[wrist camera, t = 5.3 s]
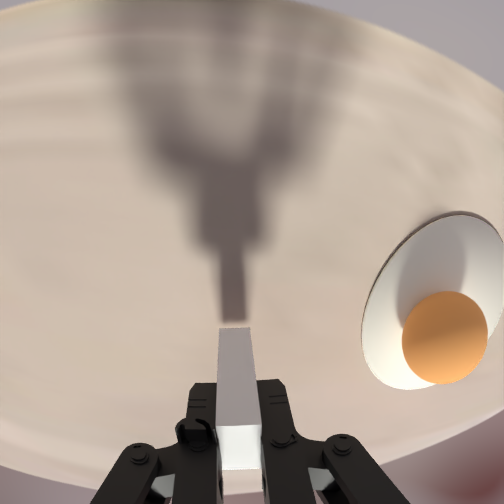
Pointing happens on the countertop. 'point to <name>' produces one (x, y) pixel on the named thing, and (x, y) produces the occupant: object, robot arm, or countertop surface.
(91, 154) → the countertop surface
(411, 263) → the white plate
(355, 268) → the countertop surface
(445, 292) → the ball
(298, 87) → the countertop surface
